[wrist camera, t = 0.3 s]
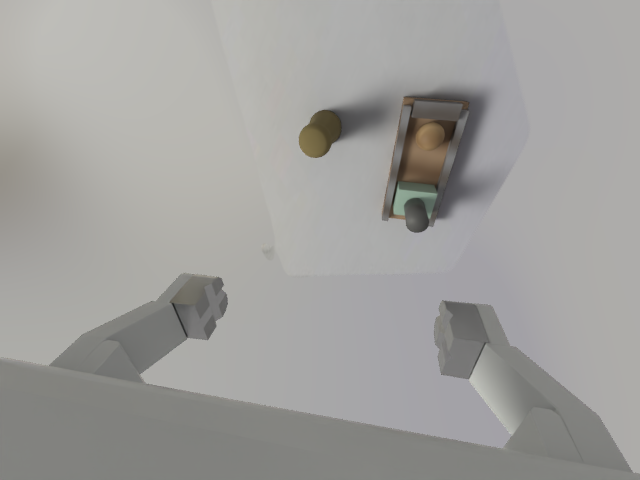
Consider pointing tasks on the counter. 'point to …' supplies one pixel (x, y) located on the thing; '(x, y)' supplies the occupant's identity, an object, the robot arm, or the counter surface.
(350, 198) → the counter surface
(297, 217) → the counter surface
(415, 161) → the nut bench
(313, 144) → the cork
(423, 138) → the walnut
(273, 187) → the counter surface
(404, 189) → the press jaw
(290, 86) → the counter surface
